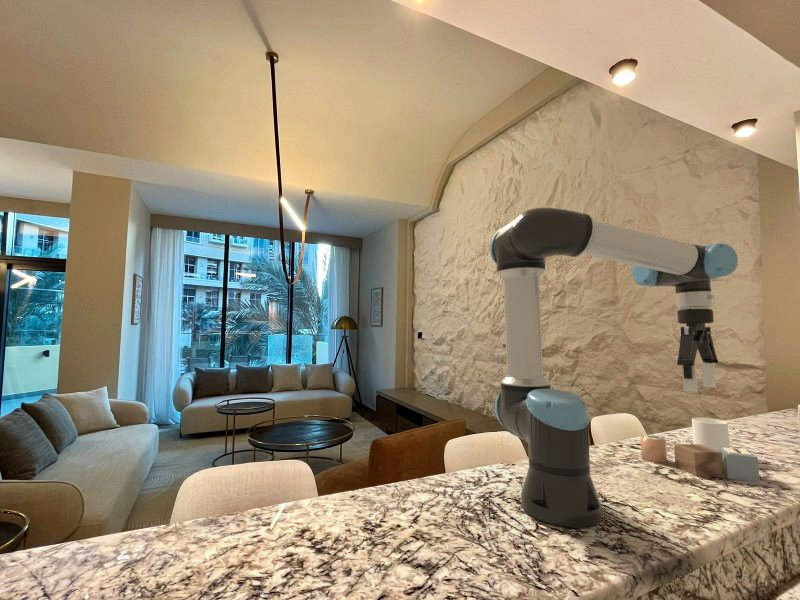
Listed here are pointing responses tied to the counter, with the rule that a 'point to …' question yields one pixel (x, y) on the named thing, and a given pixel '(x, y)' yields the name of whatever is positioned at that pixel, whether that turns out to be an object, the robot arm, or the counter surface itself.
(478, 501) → the counter surface
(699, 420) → the cup
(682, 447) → the walnut block
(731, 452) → the slate block
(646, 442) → the terracotta cylinder
